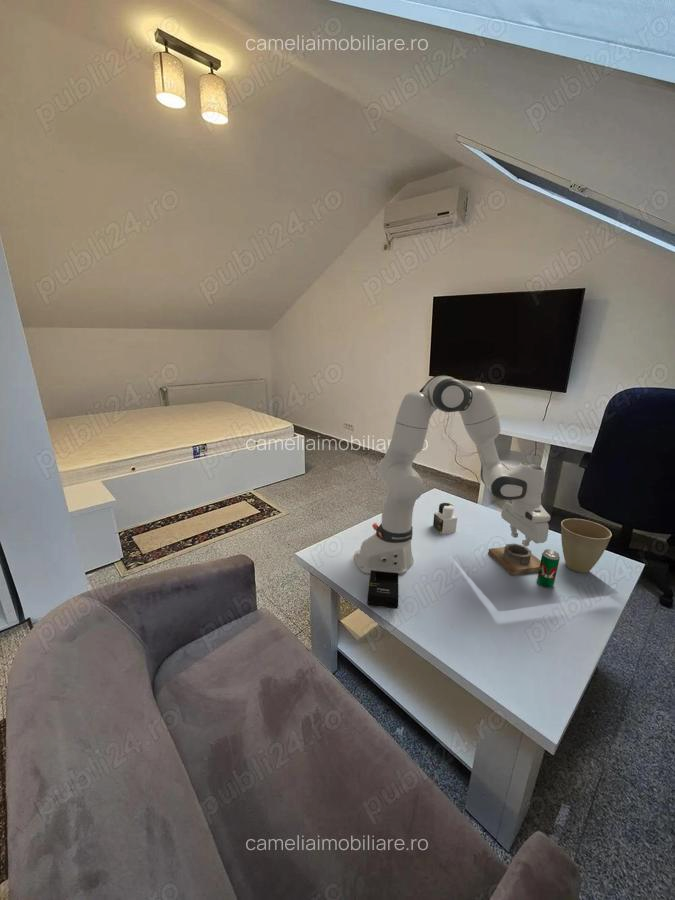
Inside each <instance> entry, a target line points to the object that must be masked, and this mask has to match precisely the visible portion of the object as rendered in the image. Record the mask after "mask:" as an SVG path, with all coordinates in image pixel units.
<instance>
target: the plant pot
mask: <svg viewBox="0 0 675 900" xmlns="http://www.w3.org/2000/svg"><path fill="white" fill-rule="evenodd" d="M560 524H561V525H560V529H561V530H560V533H561V534H560V535H561V536H560V538H561V547H562V554H563V558H564V562H565V566H567V568H568V569H570V570H571V571H575V572H576V573H580V574H581V573H582V574H586V573H589V572H590V571H591V570H592V569H593V568H594V567H595V565H597V563H598V562H599V560H600V559H601V557H602V556H603V554H604V552H605V550H606V549H607V547H608V545H609V542H610V541H611V538H612V536H613V534H612V532H611V530H610V529H608V528H607V527H605V525H602V524H599V523H597V522H594V521H591V520H589V519H588V520H586V519H582V518H566V519H563V520H562V521H561V522H560Z"/></svg>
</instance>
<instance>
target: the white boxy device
mask: <svg viewBox="0 0 675 900" xmlns="http://www.w3.org/2000/svg"><path fill="white" fill-rule="evenodd" d="M454 510H455V507H454V505H453V504H451V503H448V502H441V503H440V504H438V512H434V514H433V522H432V526H433V528H434V529H435V530H436V531H437V532H438V533H440V534H441V535H447V534H452V533H456V532H457V531H456V530H457V523H458V517H457V516H456V515H454Z"/></svg>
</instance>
